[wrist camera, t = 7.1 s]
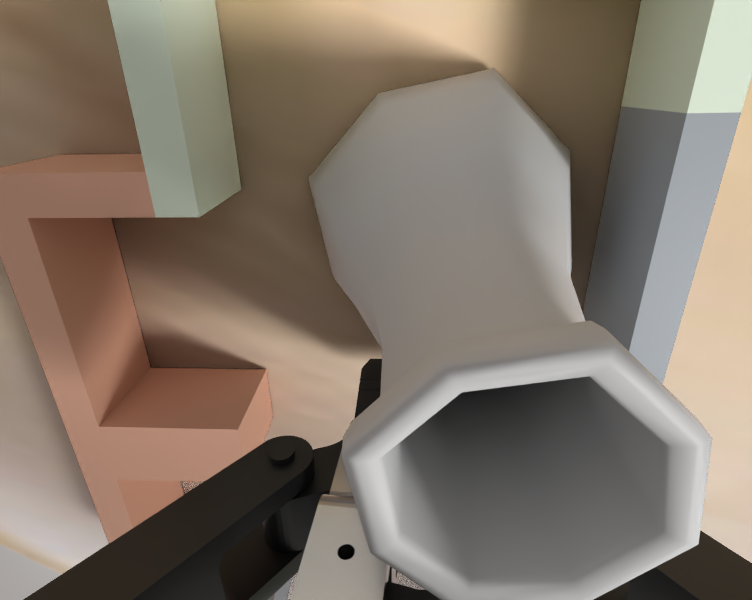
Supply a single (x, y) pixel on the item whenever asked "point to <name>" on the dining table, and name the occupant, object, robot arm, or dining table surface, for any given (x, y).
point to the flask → (494, 361)
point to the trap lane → (222, 180)
